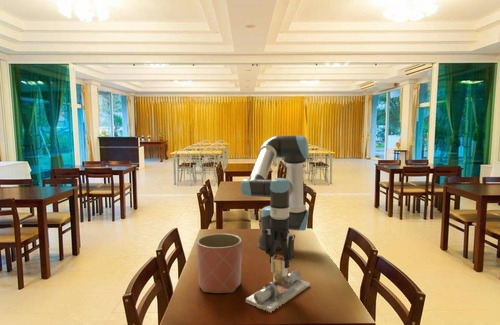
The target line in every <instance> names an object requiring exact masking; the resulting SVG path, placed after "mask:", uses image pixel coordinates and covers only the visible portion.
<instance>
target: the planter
mask: <svg viewBox="0 0 500 325" xmlns="http://www.w3.org/2000/svg"><path fill="white" fill-rule="evenodd" d="M242 244H243V240H242V238H241V237H240V236H239V235H236V234H232V233H211V234H207V235H203V236H201V237H199V238H198V239H197V241H196V250H197V251H196V252H197V254H196V255H197V267H198V268H197V269H198V285H199V288H201V291H202V292H203V293H213V294H226V293H233V292H235V291H236V290H237V289H238V287H240V285H241V281H242V250H243V245H242Z"/></svg>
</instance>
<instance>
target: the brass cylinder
mask: <svg viewBox="0 0 500 325" xmlns="http://www.w3.org/2000/svg"><path fill="white" fill-rule="evenodd" d="M282 260H284V257H283V254H275V257H274V258H273V273H272V277H273V278H272V280H273V281H275V282H284V281H285V276H284V277H283V276H282Z"/></svg>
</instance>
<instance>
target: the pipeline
mask: <svg viewBox="0 0 500 325" xmlns="http://www.w3.org/2000/svg"><path fill="white" fill-rule="evenodd" d="M301 277H302V274H301V271H300V270H298V269H295V270H292V271H291V272H290V273H288V274H287V275H286V276H285V281H284V282H275V281H274V280H273V281H270V282H267V283H265V285H264V286H262V289H260V290H258V291H256V292H255V293H252V294H251V295H250V296H248V297H246V298H245V303H247V304H249V305H252V306H254V307H255V306H256V307H255V308H258V309H260V310H262V309H263V310H262V311H265V310H266V311H265V312H267V311H268V313H269V312H270V314H271V313H273V312H274V311H275V309H276V308H277V309H279V308H280V307H281V306H282V304H283V305H284V304H285V303H287V302H288V301H290V300H292V299H293V298H295V296H297V295H298V294H300V293H301V292H302V291H303V292H304V291H305V290H306V289H307V288H309V287H310V282H309V281H306V280H303V279H301ZM279 306H280V307H279ZM277 309H276V310H277ZM272 311H273V312H272Z"/></svg>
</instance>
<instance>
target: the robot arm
mask: <svg viewBox="0 0 500 325" xmlns="http://www.w3.org/2000/svg"><path fill="white" fill-rule="evenodd" d="M309 150H310V149H309V143H308V138H307V137H306V136H304V135H274V136H272V137H269V138H268V139H267V140H265V141H264V142H263V143H262V144H261V145H260V147H259V149H258V153H257V154H258V156H257V159H256V161H255V162H254V163H255V164H254V165H253V168H252V171H251V173H250V176H249V178H243V179H242V180H241V182H240V193H241V195H242V196H246V197H250V198H252V197H253V198H254V197H256V198H257V197H258V198H270V205H267V206H264V207H263V208H262V209H261V215H260V217H261V228H260V229H261V233H260V237H259V238H258V242H257V244H258V248H259V249H260V250H261V249H262V250H264V251H265V254H266V255H268V256H269V264H270V273H272V274H273V258H274V257H275V255H277V253H276V251H279V250H282V255H283V257H284V260H282V276H283V277H284V276H286V275H287V274H289V273H288V271H289V270H288V269H289V268H290V261H292V260H294V258H295V257H294V256H295V255H294V254H295V252H294V251H295V239H296V235H295V234H291V233H290V231H297V232H298V231H301V232H303V231H306V230H307V227H308V219H309V215H310V214H309V213H310V210H309V209H307V206H306V205H305V204H304V164H305V163H306V162H307V159H309V156H310V151H309ZM276 158H277V159H278V158H279V159H280V158H281V159H283V163H284V164H286V178H284V177H275V178H272V179H267V178H268V176H269V174H270V170H271V167H272V164H273V161H275V159H276Z"/></svg>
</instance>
